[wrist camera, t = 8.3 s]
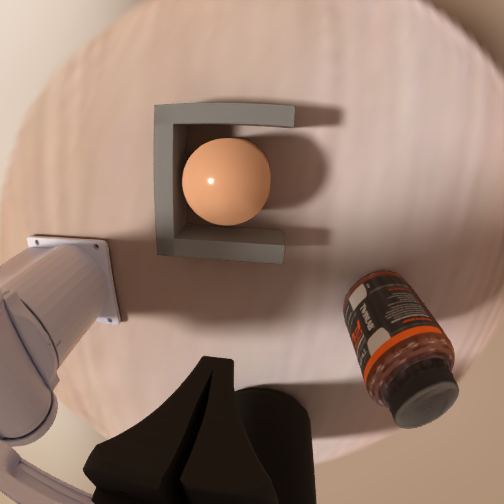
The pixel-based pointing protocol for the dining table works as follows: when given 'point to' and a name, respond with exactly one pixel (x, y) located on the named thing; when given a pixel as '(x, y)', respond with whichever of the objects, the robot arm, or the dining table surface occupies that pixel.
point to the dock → (171, 190)
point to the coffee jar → (280, 442)
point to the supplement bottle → (400, 349)
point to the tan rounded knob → (227, 181)
